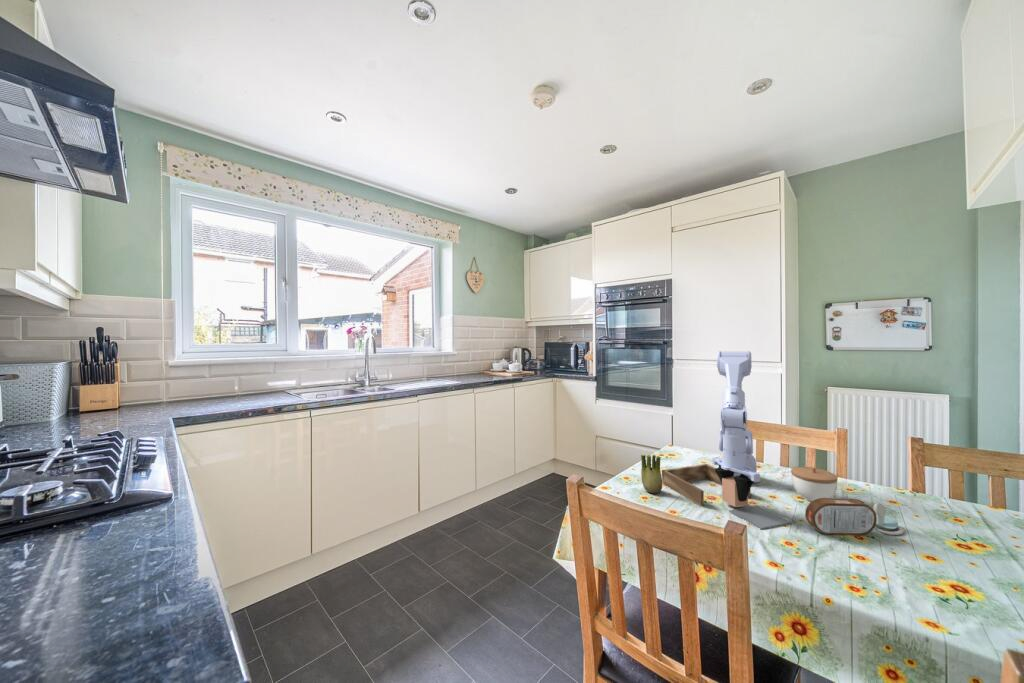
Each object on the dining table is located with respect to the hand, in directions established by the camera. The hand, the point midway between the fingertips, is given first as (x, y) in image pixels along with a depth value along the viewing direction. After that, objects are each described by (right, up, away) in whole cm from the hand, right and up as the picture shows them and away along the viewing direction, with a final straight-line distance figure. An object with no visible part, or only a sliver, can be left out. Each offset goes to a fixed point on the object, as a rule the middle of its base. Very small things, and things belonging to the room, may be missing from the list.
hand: (735, 496), depth 106 cm
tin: (+17, -3, -15) cm, 23 cm away
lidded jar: (+26, -2, +4) cm, 26 cm away
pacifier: (+30, -3, -14) cm, 33 cm away
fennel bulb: (-19, -4, +12) cm, 23 cm away
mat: (+3, -3, -6) cm, 7 cm away
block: (0, -2, 0) cm, 2 cm away
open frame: (-3, -3, +12) cm, 12 cm away
